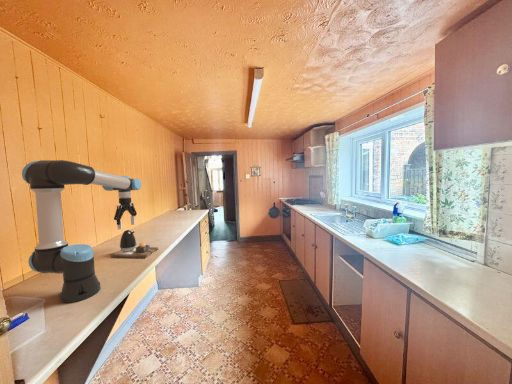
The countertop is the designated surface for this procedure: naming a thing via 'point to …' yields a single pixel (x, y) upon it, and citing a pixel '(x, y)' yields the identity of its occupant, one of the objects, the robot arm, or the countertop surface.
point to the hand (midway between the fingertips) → (126, 226)
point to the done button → (142, 245)
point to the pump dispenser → (127, 241)
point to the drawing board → (136, 252)
